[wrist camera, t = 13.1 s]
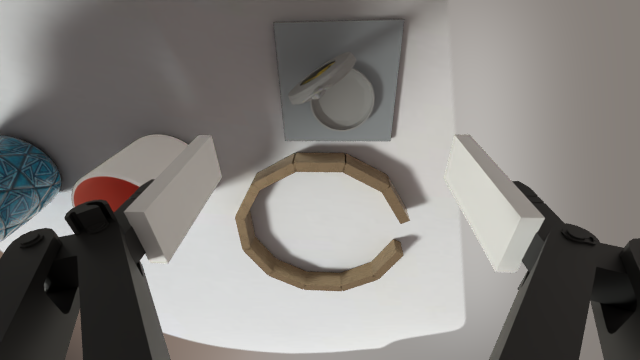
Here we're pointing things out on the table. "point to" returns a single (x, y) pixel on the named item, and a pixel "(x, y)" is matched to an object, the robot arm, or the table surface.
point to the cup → (127, 170)
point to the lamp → (24, 183)
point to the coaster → (371, 59)
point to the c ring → (320, 279)
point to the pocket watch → (336, 94)
